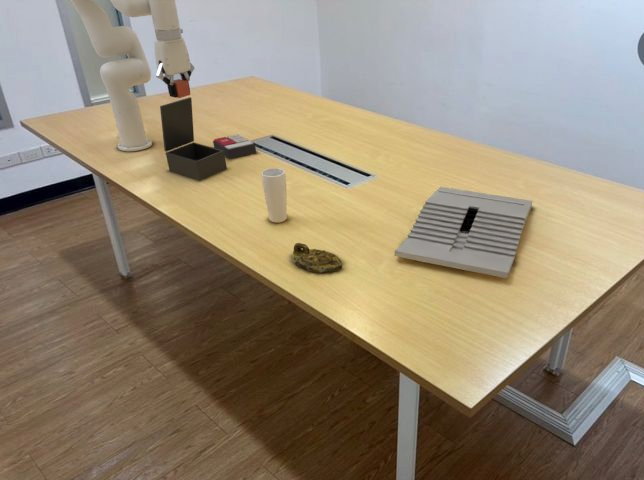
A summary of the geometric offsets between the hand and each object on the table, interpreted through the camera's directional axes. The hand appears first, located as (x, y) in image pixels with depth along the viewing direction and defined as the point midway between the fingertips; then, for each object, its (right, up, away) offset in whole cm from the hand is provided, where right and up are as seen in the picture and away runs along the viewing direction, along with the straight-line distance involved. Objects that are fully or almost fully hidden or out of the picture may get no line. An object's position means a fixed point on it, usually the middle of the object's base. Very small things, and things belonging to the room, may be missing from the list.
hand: (180, 94), depth 181 cm
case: (+1, -22, +15) cm, 27 cm away
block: (0, 0, 0) cm, 0 cm away
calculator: (+10, -11, +31) cm, 35 cm away
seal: (+49, -56, -36) cm, 83 cm away
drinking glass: (+35, -43, -16) cm, 58 cm away
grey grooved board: (+91, -47, -22) cm, 105 cm away
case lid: (-4, -7, +10) cm, 13 cm away
